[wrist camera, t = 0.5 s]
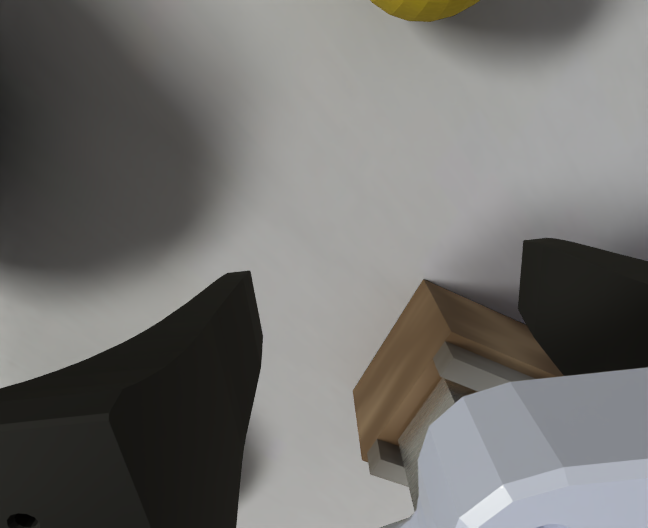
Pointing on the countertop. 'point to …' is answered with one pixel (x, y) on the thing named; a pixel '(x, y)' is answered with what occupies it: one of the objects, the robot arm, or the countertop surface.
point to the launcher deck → (437, 367)
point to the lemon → (423, 8)
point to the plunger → (426, 428)
